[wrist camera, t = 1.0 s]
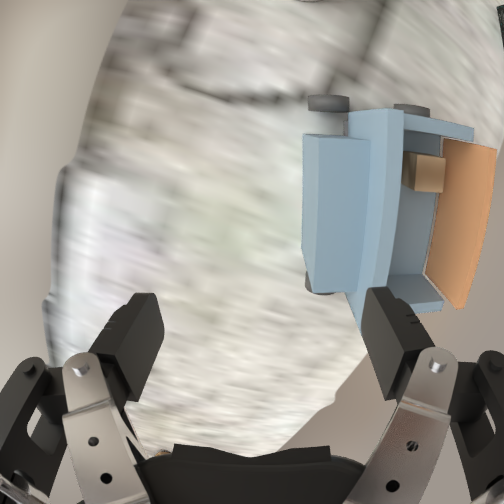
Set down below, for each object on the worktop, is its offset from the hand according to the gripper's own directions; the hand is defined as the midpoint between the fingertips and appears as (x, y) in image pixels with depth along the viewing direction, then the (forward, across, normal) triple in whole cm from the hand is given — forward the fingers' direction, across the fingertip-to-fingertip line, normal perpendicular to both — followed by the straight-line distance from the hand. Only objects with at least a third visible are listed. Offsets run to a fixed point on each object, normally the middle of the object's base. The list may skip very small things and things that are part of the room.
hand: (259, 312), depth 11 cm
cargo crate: (+24, -18, -2) cm, 30 cm away
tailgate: (+24, -23, +3) cm, 33 cm away
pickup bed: (+30, -13, +3) cm, 33 cm away
